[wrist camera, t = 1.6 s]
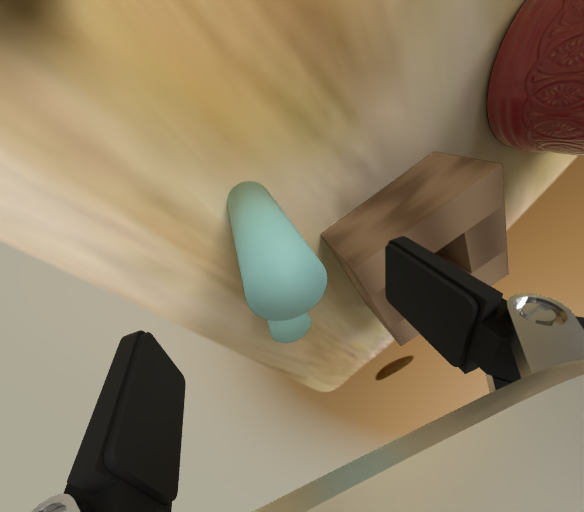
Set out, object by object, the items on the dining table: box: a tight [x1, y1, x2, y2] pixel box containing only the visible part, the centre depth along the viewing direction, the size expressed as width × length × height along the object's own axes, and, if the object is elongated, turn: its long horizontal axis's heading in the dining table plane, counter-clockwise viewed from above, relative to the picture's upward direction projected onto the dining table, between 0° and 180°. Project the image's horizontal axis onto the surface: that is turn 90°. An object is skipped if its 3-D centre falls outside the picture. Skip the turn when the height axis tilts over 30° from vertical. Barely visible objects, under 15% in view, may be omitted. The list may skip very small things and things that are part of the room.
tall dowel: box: [227, 181, 327, 321], centre depth 14 cm, size 3×3×11 cm
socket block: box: [321, 152, 509, 346], centre depth 23 cm, size 12×12×6 cm
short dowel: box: [267, 312, 311, 343], centre depth 22 cm, size 3×3×5 cm
